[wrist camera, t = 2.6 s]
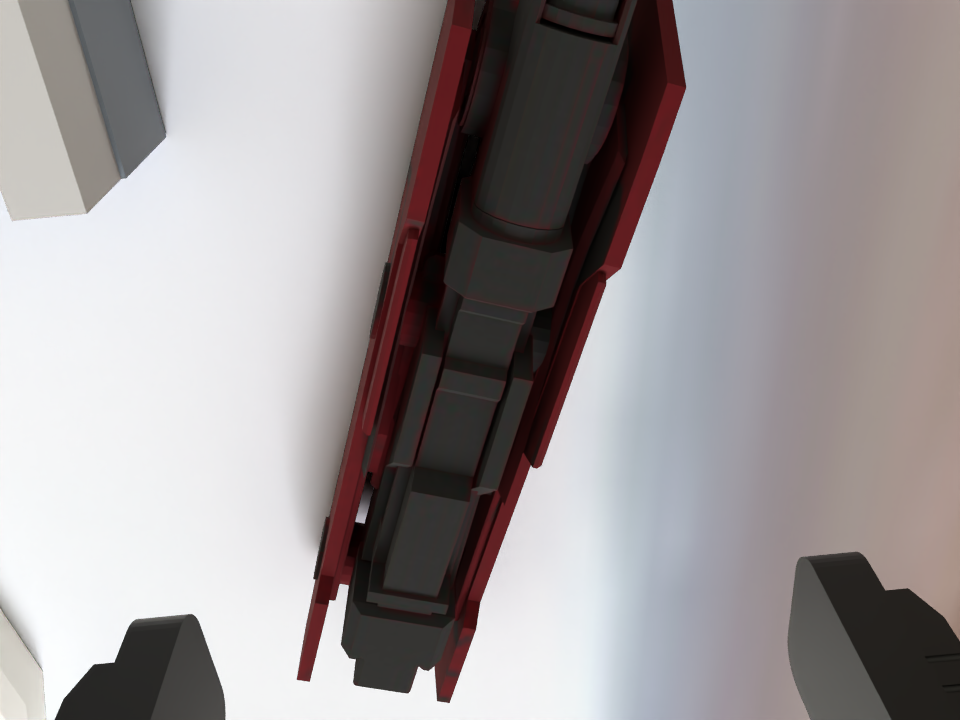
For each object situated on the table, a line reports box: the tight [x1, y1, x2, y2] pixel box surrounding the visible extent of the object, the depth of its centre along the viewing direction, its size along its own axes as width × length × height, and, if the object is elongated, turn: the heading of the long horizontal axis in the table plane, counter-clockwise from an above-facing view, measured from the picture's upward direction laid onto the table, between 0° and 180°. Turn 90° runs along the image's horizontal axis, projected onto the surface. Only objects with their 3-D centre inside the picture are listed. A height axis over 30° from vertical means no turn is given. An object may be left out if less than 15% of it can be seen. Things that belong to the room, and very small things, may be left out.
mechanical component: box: [297, 0, 686, 703], centre depth 21 cm, size 23×4×6 cm, turn 165°
